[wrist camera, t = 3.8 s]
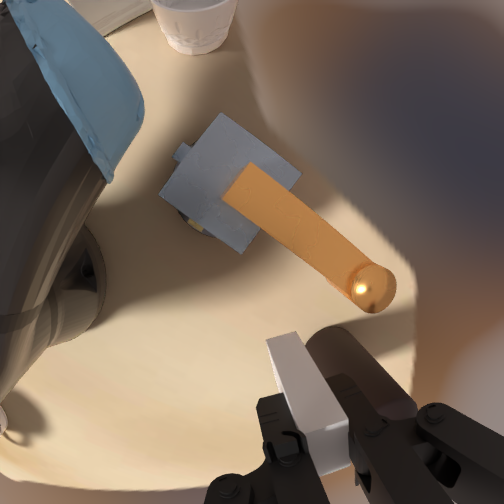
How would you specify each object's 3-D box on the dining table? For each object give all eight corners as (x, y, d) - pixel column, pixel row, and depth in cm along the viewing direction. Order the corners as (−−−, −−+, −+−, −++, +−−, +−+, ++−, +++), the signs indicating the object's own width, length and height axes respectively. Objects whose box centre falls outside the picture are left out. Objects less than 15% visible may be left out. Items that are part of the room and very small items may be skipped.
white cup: (152, 18, 25) (136, -33, 15) (219, -3, 25) (225, -57, 16) (172, 71, 27) (158, 25, 17) (244, 47, 27) (258, -3, 17)
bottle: (363, 339, 36) (462, 440, 16) (331, 380, 36) (404, 496, 17) (323, 316, 34) (423, 429, 15) (289, 361, 35) (353, 495, 15)
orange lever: (300, 286, 30) (356, 347, 17) (156, 182, 26) (112, 176, 14) (342, 229, 29) (421, 257, 17) (202, 121, 26) (196, 68, 13)
